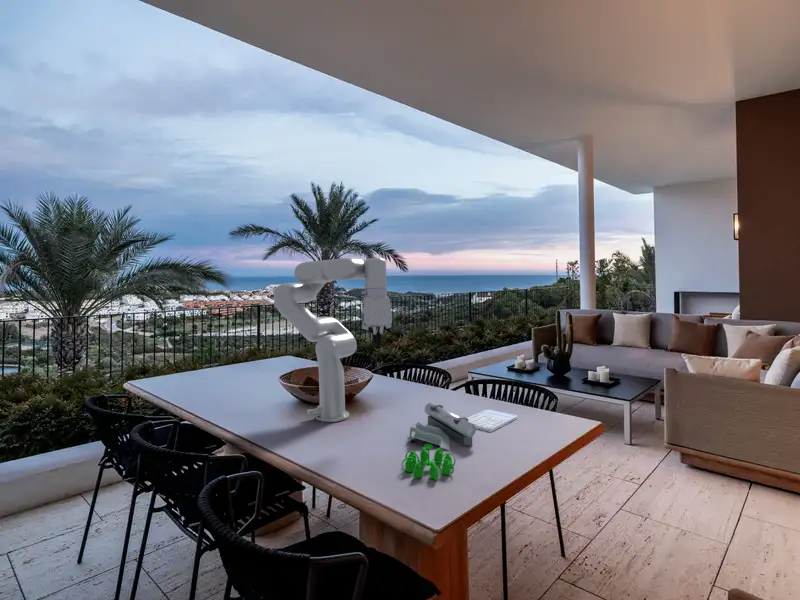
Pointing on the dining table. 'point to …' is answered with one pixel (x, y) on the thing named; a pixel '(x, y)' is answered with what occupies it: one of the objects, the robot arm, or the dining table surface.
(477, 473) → the dining table surface
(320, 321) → the robot arm
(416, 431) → the metal bracket
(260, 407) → the dining table surface
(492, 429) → the calculator
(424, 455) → the chandelier
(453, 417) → the pipe mount
